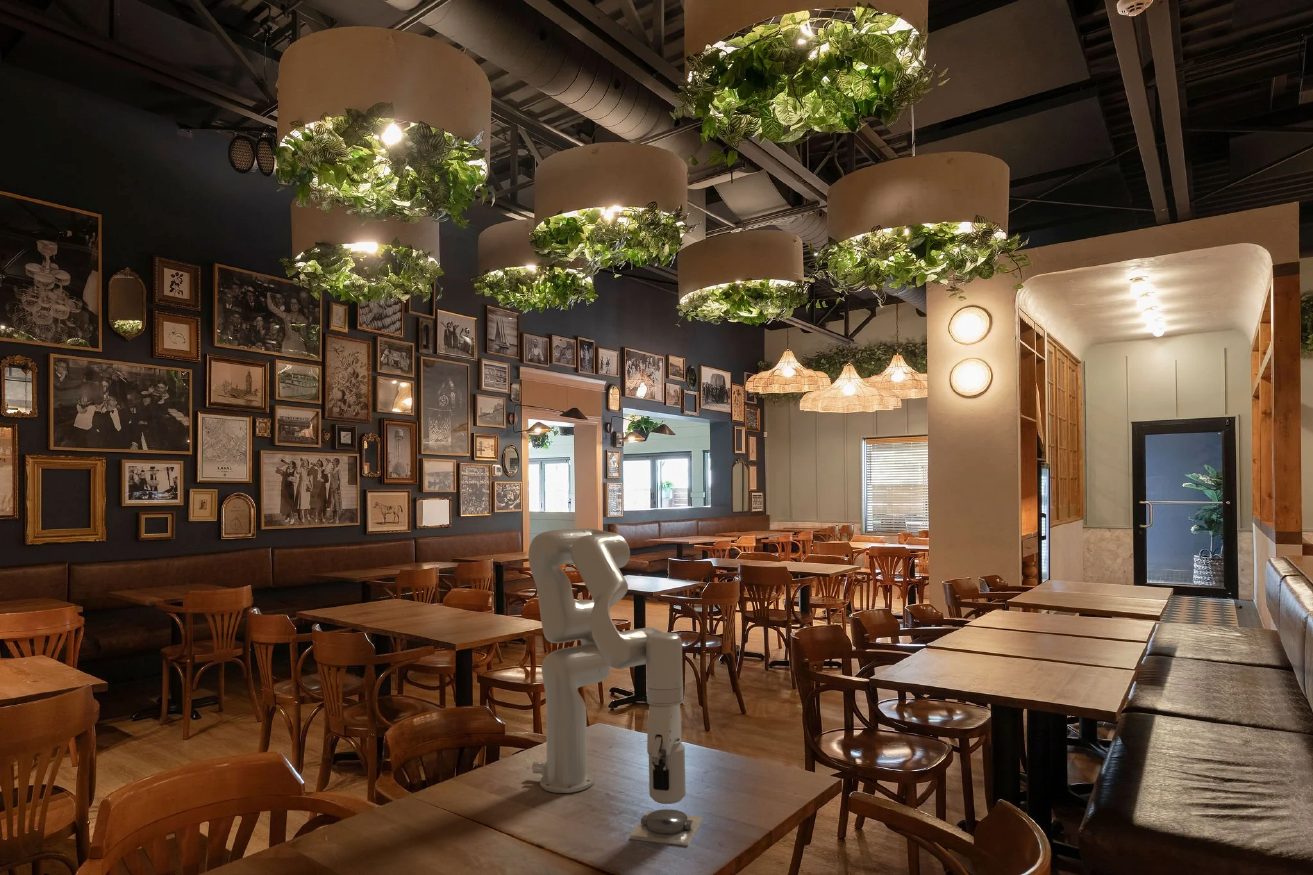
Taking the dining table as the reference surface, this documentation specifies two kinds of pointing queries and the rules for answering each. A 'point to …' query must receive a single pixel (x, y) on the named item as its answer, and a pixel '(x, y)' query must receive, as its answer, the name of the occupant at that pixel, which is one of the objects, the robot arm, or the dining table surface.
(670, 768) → the can
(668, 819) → the white flat square plate
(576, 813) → the dining table surface
